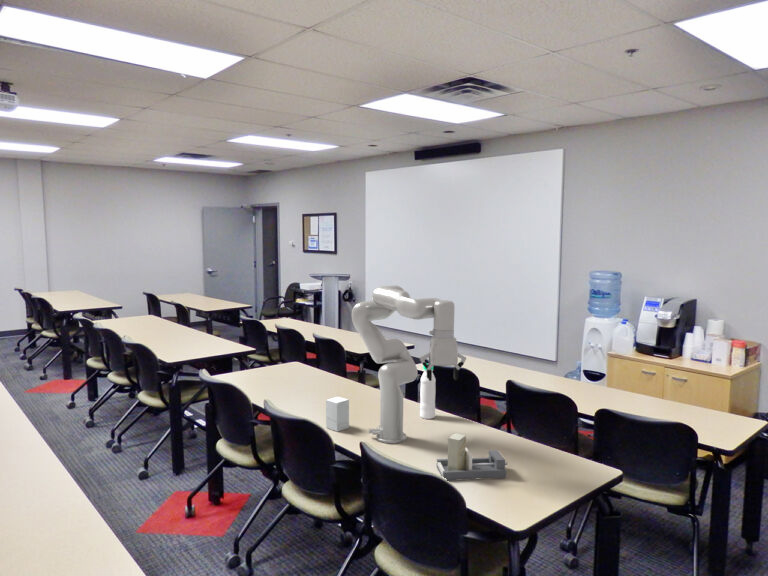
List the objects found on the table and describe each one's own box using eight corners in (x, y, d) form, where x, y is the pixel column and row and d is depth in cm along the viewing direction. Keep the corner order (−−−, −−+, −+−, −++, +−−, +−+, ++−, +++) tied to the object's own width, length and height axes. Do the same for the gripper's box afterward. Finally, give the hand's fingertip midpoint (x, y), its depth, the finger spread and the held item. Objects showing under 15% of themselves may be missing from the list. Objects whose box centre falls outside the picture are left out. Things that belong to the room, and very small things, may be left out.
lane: (443, 480, 175) (443, 463, 175) (436, 466, 186) (437, 450, 186) (505, 478, 178) (506, 461, 177) (495, 464, 189) (496, 448, 188)
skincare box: (458, 474, 177) (459, 440, 176) (446, 471, 180) (447, 437, 179) (465, 468, 183) (466, 434, 182) (454, 465, 185) (454, 432, 184)
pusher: (469, 473, 178) (469, 456, 177) (463, 464, 186) (463, 447, 185) (511, 472, 179) (511, 455, 179) (503, 462, 187) (503, 446, 187)
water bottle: (424, 420, 235) (425, 366, 233) (416, 415, 241) (417, 363, 239) (437, 418, 238) (439, 365, 236) (429, 413, 245) (430, 361, 243)
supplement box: (349, 427, 225) (349, 399, 224) (336, 432, 219) (336, 403, 218) (338, 423, 230) (338, 395, 229) (325, 427, 224) (325, 399, 223)
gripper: (422, 336, 184) (421, 382, 186) (469, 335, 186) (468, 382, 188) (418, 332, 192) (417, 377, 193) (463, 332, 194) (462, 376, 195)
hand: (442, 379), depth 190 cm, fingers open, 9 cm apart
